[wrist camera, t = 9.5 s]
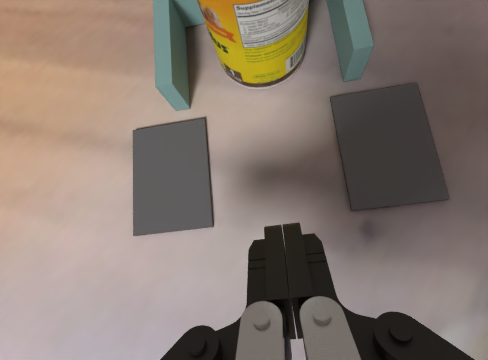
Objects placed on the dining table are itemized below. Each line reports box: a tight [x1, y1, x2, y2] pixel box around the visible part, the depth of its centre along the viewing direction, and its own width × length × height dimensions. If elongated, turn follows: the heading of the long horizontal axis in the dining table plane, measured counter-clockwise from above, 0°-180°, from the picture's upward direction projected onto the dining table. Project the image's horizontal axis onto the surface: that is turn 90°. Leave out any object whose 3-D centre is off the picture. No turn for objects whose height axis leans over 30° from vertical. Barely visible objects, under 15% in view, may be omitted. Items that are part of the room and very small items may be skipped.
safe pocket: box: [153, 0, 374, 111], centre depth 18 cm, size 12×8×3 cm, turn 96°
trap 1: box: [330, 83, 450, 211], centre depth 16 cm, size 5×7×1 cm
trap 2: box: [133, 118, 213, 236], centre depth 18 cm, size 5×7×1 cm
